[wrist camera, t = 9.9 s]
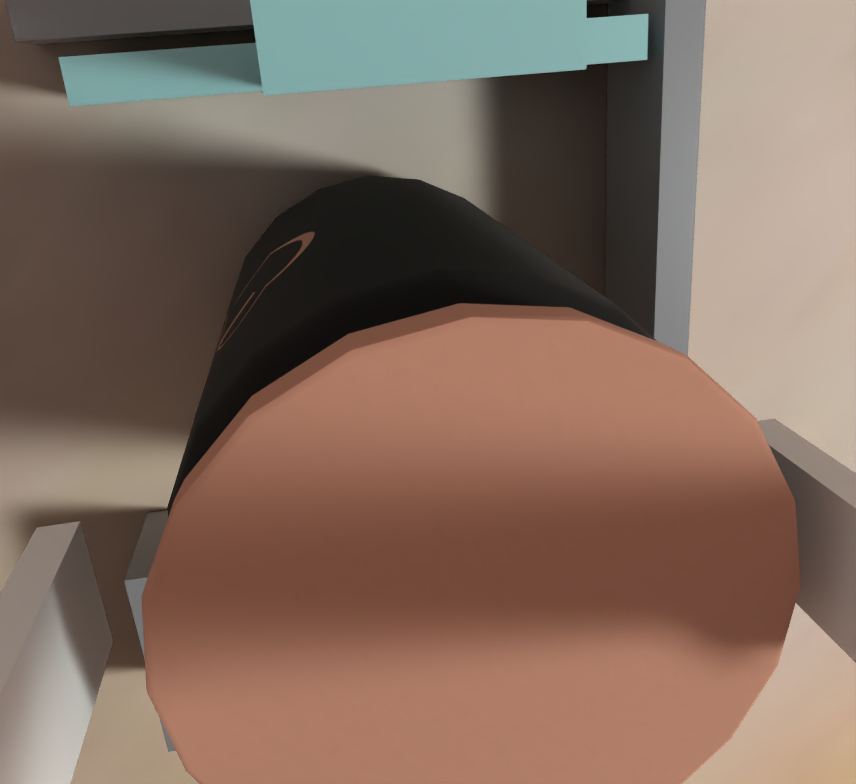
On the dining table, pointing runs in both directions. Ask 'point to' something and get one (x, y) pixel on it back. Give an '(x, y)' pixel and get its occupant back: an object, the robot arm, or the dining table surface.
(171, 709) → the coffee jar
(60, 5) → the grey piece
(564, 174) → the dining table surface
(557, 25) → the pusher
